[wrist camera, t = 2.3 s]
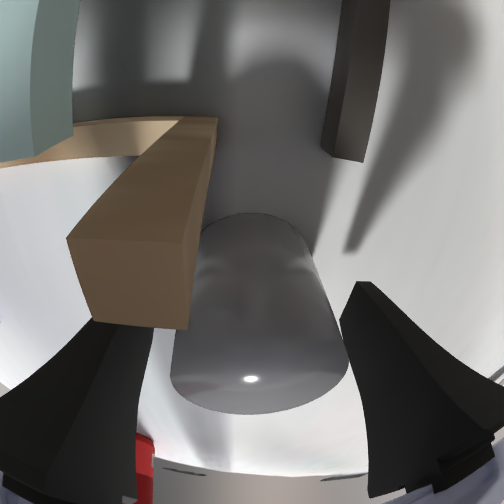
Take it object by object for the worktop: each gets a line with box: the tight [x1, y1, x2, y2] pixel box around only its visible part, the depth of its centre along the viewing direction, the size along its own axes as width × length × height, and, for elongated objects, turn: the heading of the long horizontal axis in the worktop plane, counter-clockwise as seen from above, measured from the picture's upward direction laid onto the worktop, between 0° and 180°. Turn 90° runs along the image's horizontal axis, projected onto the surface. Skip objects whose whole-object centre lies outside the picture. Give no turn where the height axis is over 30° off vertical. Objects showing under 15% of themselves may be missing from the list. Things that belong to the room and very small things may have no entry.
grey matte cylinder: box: [170, 213, 349, 415], centre depth 9 cm, size 5×5×5 cm
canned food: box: [122, 433, 155, 504], centre depth 20 cm, size 8×8×11 cm
